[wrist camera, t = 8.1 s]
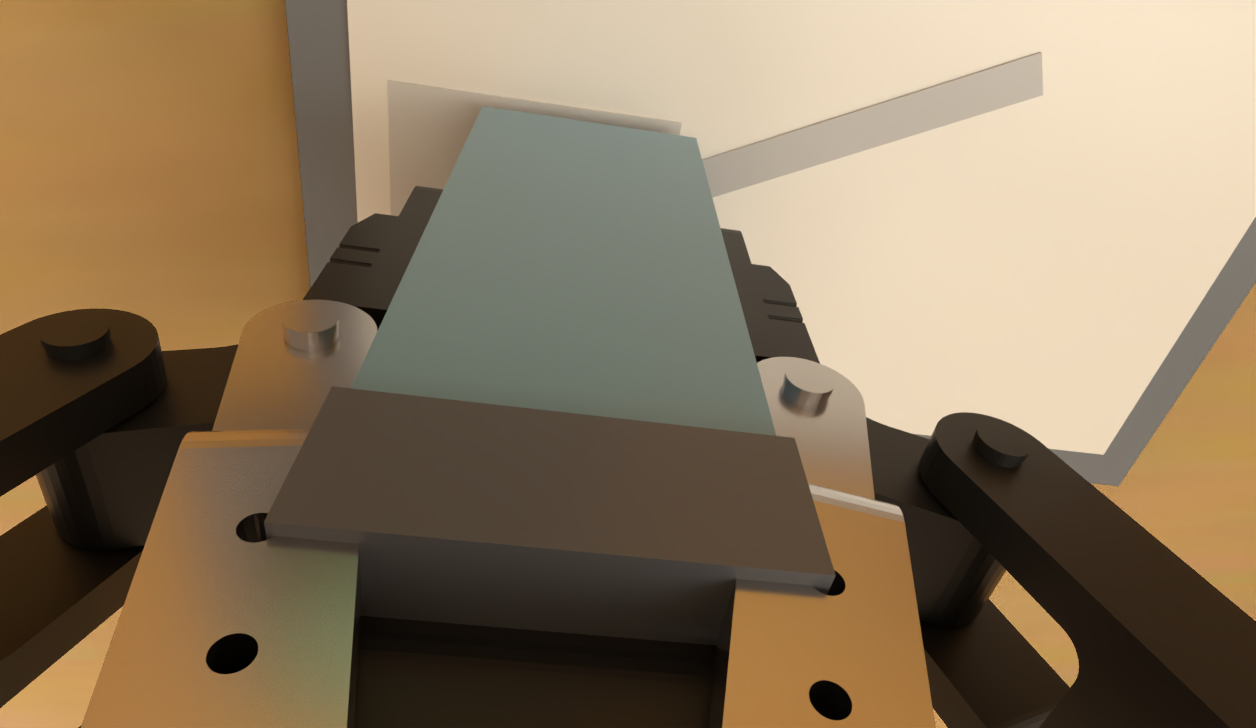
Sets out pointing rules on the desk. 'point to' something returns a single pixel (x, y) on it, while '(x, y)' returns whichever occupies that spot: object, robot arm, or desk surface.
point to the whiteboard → (870, 172)
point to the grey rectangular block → (561, 405)
